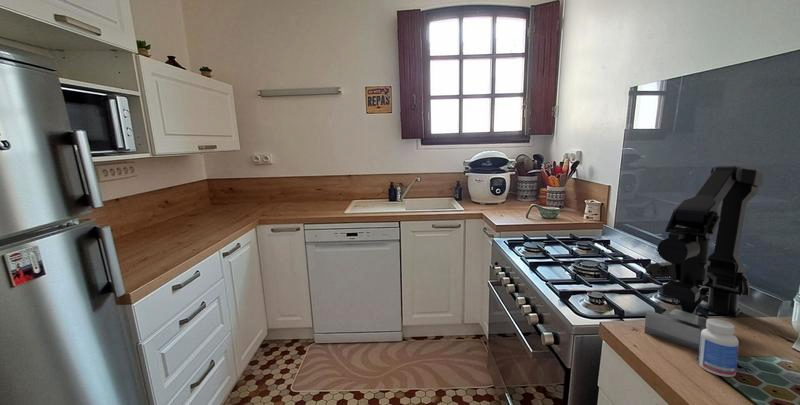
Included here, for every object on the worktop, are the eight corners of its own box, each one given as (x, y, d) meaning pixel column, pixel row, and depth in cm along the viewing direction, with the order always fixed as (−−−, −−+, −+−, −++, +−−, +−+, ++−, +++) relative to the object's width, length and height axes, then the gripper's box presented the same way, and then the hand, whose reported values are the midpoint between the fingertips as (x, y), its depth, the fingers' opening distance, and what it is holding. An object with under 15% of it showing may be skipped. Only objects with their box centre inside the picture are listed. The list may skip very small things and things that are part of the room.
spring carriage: (660, 315, 83) (660, 304, 83) (697, 327, 77) (698, 315, 77) (654, 320, 81) (655, 309, 81) (692, 332, 75) (693, 320, 75)
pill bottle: (744, 379, 61) (748, 331, 60) (710, 376, 62) (715, 328, 61) (721, 362, 67) (725, 317, 66) (691, 359, 68) (695, 315, 67)
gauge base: (668, 313, 89) (670, 295, 88) (718, 327, 80) (720, 308, 80) (644, 332, 79) (645, 312, 78) (698, 350, 71) (700, 329, 70)
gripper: (664, 244, 90) (661, 297, 92) (637, 255, 79) (633, 315, 81) (719, 252, 81) (714, 311, 82) (696, 266, 70) (691, 334, 72)
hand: (687, 317), depth 80 cm, fingers closed
